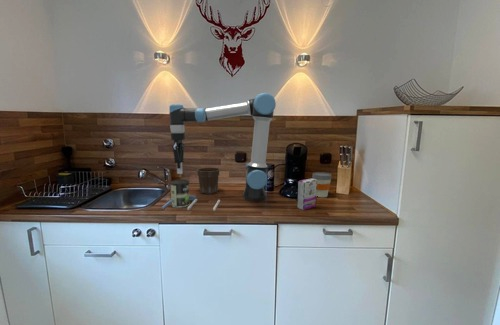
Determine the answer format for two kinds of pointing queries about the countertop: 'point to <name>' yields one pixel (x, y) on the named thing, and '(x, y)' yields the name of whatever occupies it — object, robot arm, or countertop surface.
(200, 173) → the plant pot
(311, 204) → the candy bar box
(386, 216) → the countertop surface
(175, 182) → the coffee can
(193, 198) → the divider rack
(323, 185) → the reusable coffee cup
